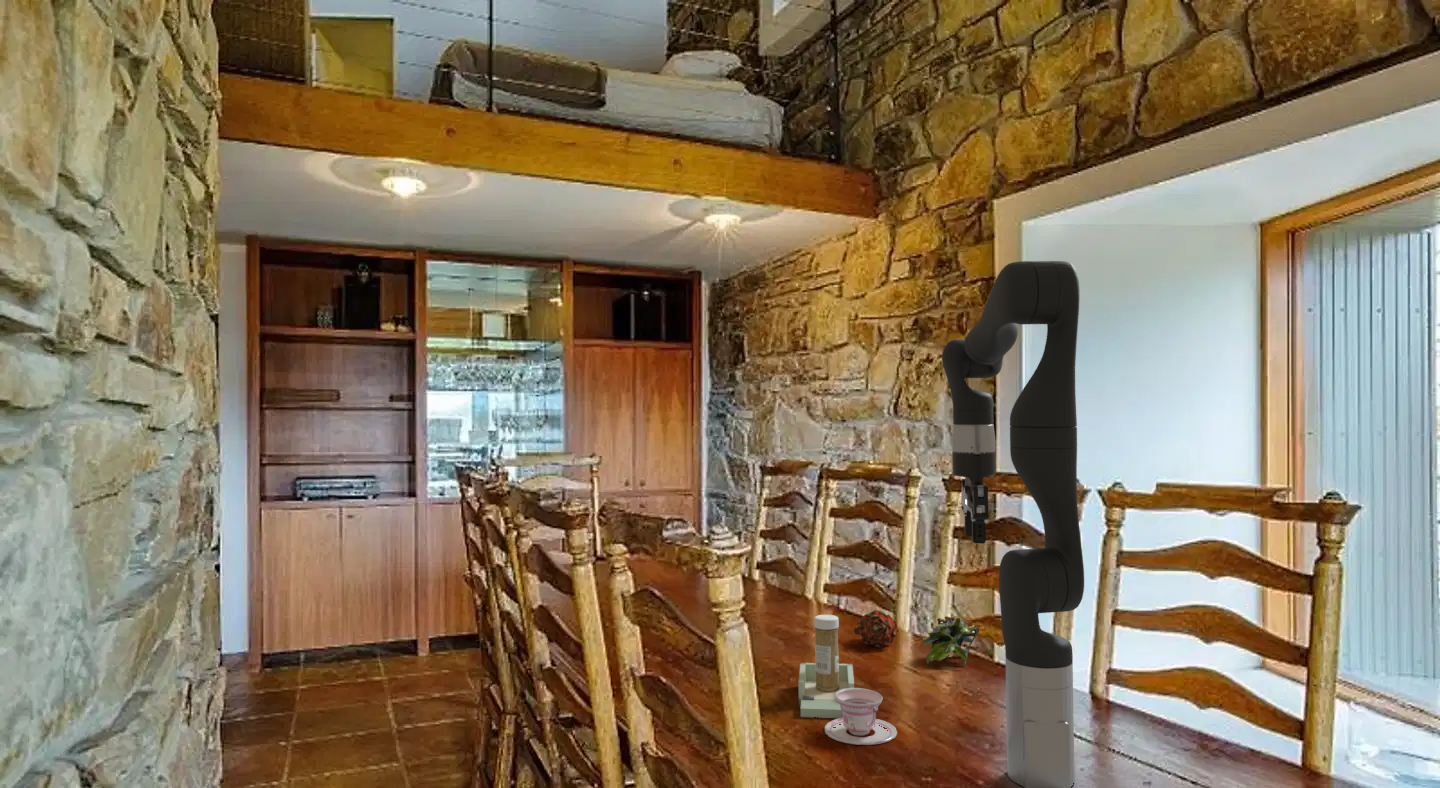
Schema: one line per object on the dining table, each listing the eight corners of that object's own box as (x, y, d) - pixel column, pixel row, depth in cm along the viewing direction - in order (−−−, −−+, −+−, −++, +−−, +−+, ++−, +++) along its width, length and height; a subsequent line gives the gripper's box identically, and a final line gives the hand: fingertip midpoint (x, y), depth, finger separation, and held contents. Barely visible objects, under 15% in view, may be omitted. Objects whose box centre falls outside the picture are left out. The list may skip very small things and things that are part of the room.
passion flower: (946, 682, 189) (966, 631, 193) (978, 687, 179) (998, 633, 183) (906, 656, 186) (927, 605, 191) (937, 659, 177) (958, 606, 181)
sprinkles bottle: (844, 689, 163) (843, 617, 163) (825, 694, 161) (824, 620, 161) (828, 683, 167) (827, 612, 167) (810, 687, 165) (809, 615, 165)
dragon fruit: (884, 660, 192) (865, 653, 204) (911, 635, 194) (892, 629, 206) (860, 629, 192) (843, 624, 204) (888, 604, 194) (869, 600, 206)
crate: (855, 718, 152) (855, 692, 152) (797, 716, 153) (797, 691, 153) (852, 687, 169) (852, 664, 169) (800, 685, 170) (800, 662, 170)
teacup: (811, 726, 149) (810, 690, 149) (871, 715, 154) (870, 680, 154) (848, 751, 138) (848, 712, 138) (911, 739, 143) (911, 701, 143)
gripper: (947, 447, 166) (948, 533, 165) (958, 451, 152) (959, 545, 151) (987, 447, 165) (989, 533, 165) (1002, 451, 151) (1004, 545, 150)
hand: (975, 539), depth 158 cm, fingers open, 8 cm apart
